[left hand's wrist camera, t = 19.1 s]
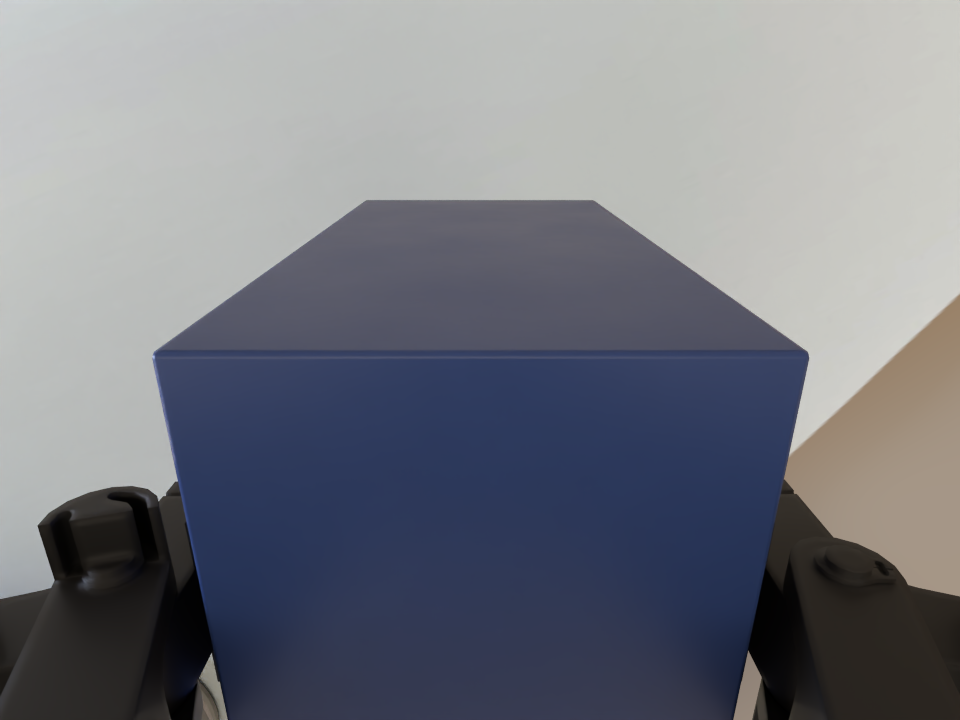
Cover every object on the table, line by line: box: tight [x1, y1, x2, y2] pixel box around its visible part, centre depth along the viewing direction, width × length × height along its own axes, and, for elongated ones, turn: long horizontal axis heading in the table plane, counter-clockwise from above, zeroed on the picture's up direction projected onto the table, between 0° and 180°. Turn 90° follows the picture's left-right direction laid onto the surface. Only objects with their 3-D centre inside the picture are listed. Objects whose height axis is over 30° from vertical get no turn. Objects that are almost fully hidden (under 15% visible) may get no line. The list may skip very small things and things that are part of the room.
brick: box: [153, 200, 809, 720], centre depth 12 cm, size 6×8×11 cm
